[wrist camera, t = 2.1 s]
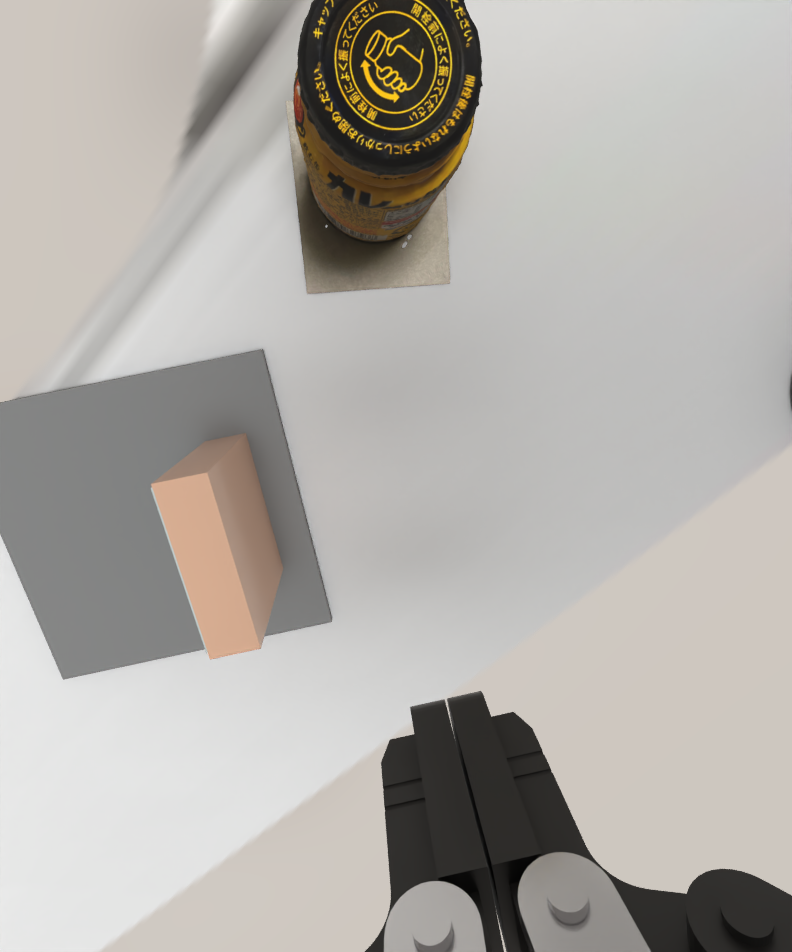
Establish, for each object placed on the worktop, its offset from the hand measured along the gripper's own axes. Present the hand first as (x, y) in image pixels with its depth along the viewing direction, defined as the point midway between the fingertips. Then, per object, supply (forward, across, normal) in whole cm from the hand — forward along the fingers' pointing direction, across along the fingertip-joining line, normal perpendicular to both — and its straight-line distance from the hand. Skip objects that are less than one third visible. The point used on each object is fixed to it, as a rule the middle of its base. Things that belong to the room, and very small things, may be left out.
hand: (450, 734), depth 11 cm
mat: (+20, +13, 0) cm, 24 cm away
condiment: (+20, -2, -14) cm, 25 cm away
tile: (+20, +8, 0) cm, 21 cm away
